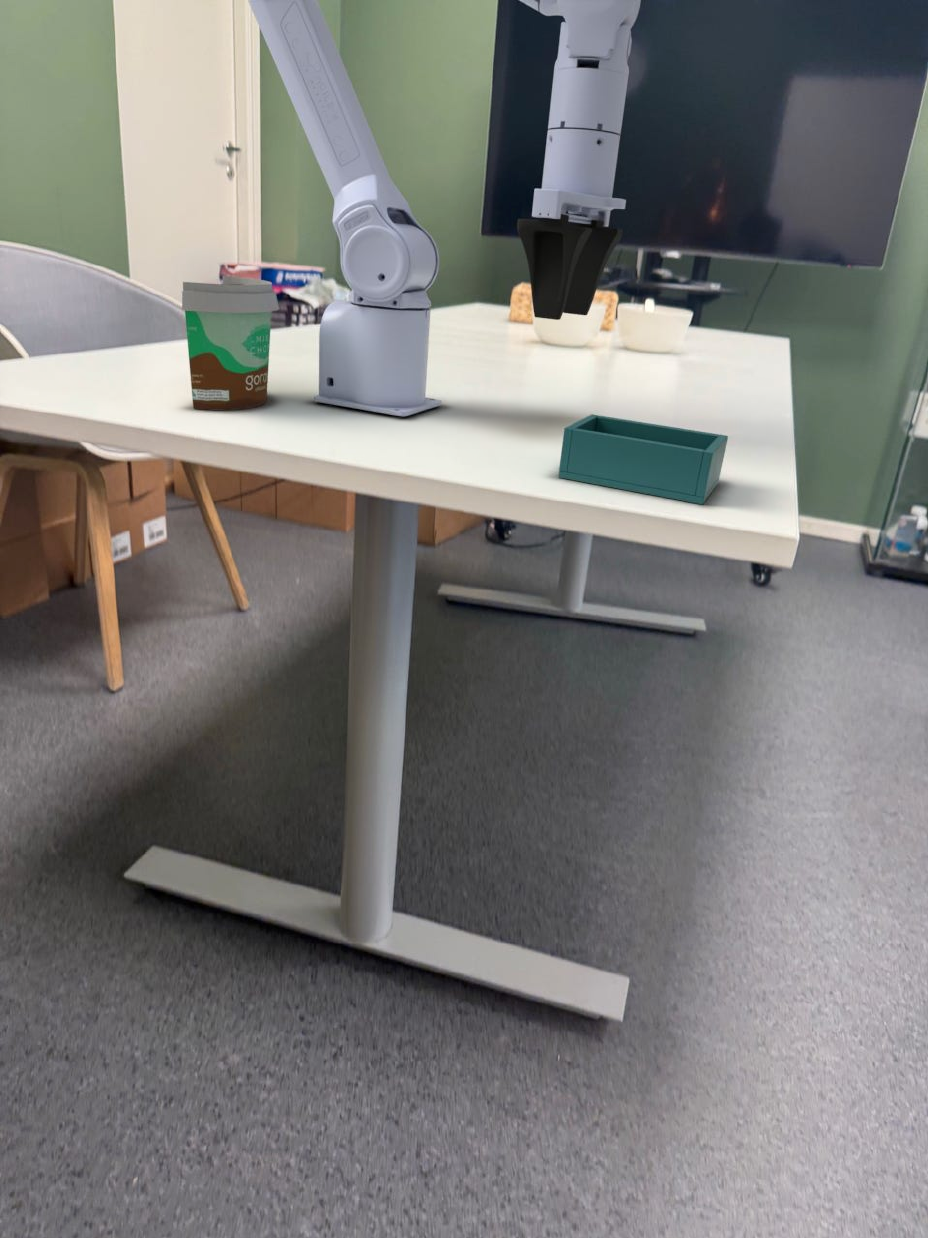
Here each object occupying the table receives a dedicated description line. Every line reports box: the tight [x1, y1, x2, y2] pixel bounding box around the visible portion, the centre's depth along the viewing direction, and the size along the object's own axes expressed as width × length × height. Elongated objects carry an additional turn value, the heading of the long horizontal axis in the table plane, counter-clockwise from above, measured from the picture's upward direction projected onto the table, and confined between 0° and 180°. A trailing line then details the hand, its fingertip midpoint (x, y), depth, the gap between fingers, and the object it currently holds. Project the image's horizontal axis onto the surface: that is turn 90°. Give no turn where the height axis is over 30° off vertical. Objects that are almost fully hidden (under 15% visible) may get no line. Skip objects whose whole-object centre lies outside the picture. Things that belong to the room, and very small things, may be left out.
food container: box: [181, 275, 280, 411], centre depth 73 cm, size 12×6×10 cm, turn 179°
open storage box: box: [558, 414, 729, 505], centre depth 60 cm, size 10×7×4 cm, turn 66°
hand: (561, 316), depth 72 cm, fingers open, 7 cm apart
